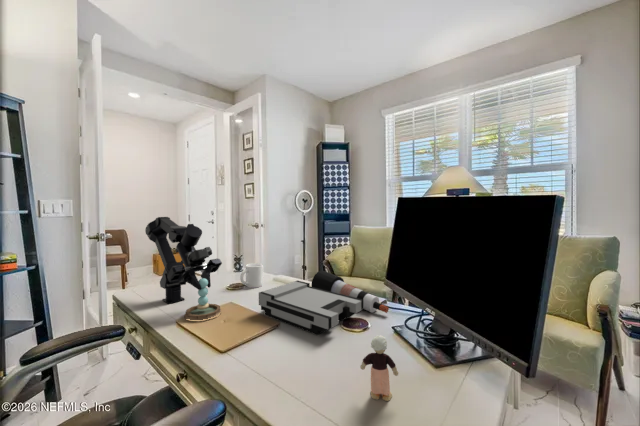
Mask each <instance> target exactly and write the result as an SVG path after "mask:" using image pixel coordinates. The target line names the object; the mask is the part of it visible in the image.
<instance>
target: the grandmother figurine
mask: <svg viewBox="0 0 640 426" xmlns="http://www.w3.org/2000/svg"><path fill="white" fill-rule="evenodd" d="M370 344H371V345H370V347H371V348H372V349H373V351H374V352H370V353H367V354H366V356H364V358H363V359H362V362H361V364H360V365H359V366H360V369H361V370H365V369H366V367H367V366H368V365H371V367H370V389H371V390H370V395H371V398H372V399H373V400H380V397H381V399H382V401H384V402H385V401H386V402H389V401H390V400H391V399H392V398H393V393H392V392H391V385H390V373H389V368H390V369H391V371H392V373H393V375H394V376H395V377H397V376H399V370H398V369H397V368H398V367H397V366H396V365H397V364H396V363H395V362H394V360H393V359H392V357H390V355H388V354H387V353H385V352H386V350H387V347H388V341H387V338H386V337H384V336H383V335H380V334H378V335H375V336H374V337H373V339H372V340H371V342H370ZM388 366H389V368H388ZM380 395H382V396H380Z"/></svg>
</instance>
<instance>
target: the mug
mask: <svg viewBox="0 0 640 426" xmlns="http://www.w3.org/2000/svg"><path fill="white" fill-rule="evenodd" d="M244 276H245V280H244ZM239 278H240V279H239V280H240V283H241V284H243V285H244V286H246V287H247V288H250V289H257V288H258V289H259V288H260V287H263V285H264V264H263V263H259V262H257V263H255V262H254V263H247V264H246V265H245V269H244V270H243V271H241V274H240V277H239Z"/></svg>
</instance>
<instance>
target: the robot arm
mask: <svg viewBox="0 0 640 426" xmlns="http://www.w3.org/2000/svg"><path fill="white" fill-rule="evenodd" d="M144 231H145V235H147V237H148V239H149V240H150V241H151V242H153V243H155V246H156V249H157V250H158V254H159V257H160V260H161V262H162V264H163V267H164V270H163V273H162V276H161V278H160V281H159V285H160V288H162V289H164V290H165V298H162V301H163V302H164V303H165V304H168V305H169V304H173V303H177V302H181V301H184V300H185V298H184V297H183V296H182V286H184V285H187V283H188V285H191V286H192V287H194V288H195V289H197V290H201V286H200V283H199V280H198V278H197V276H196V272H201V274H200V279H202V278H205V279H207V280H208V285H207V286H206V287H207V289H208V288H209V289H210V288H211V287H212V285H211V274H212V273H215V272H217V271H218V270H219V268H220V267H221V265H222V264H223V262H222V261H221V259H220V258H213V259H210V260H208V262H207V263H205V262H206V259H207V258H210V256H212V254H213V251H212V248H211V247H210V246H205V247H204V248H201V249H196V247H195V246H197V245H198V242H199V240H200V239H201V238H202V235H203V231H202V229H201V228H200V227H198V226H195V225H194V223H188V224H187V225H186V226H184V225H179V224H177V223H176V222H175V221H173V220H171V218H170V217H168V216H158V217H156V218H155V219H154V220H153V221H150V222H148V223H147V225H146V227H145V230H144ZM167 237H168V238H167ZM169 241H170V242H171V243H177V244H176V247H175V248H176V249H175V253H178V255H179V256H180V258H181V261H177V259H176V257H175V255H174V253H173V250H172V248H171V245H170V243H169ZM204 263H205V264H204Z"/></svg>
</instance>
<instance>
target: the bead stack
mask: <svg viewBox="0 0 640 426" xmlns="http://www.w3.org/2000/svg"><path fill="white" fill-rule="evenodd" d="M198 281H199V283H200V286H201V290H198V289H197V290H198V291H197V294H198V296H199V298H198V300H197V303H198V304H197V305H196V306H197V309H200V310H203V309H207V308H208V307H209V304H210V303H208V302H209V298H208V296H207V295H208V293H209V289H208V286H207V285H208V280H207V279H205V278H200V279H199V280H198Z"/></svg>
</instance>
